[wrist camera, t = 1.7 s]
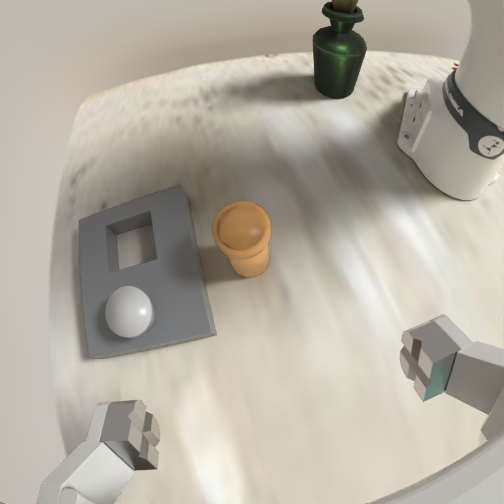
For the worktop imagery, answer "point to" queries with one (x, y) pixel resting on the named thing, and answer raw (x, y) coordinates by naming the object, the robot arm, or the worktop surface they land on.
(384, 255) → the worktop surface
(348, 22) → the potion bottle
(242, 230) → the mushroom head peg
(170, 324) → the gray peg hole board
